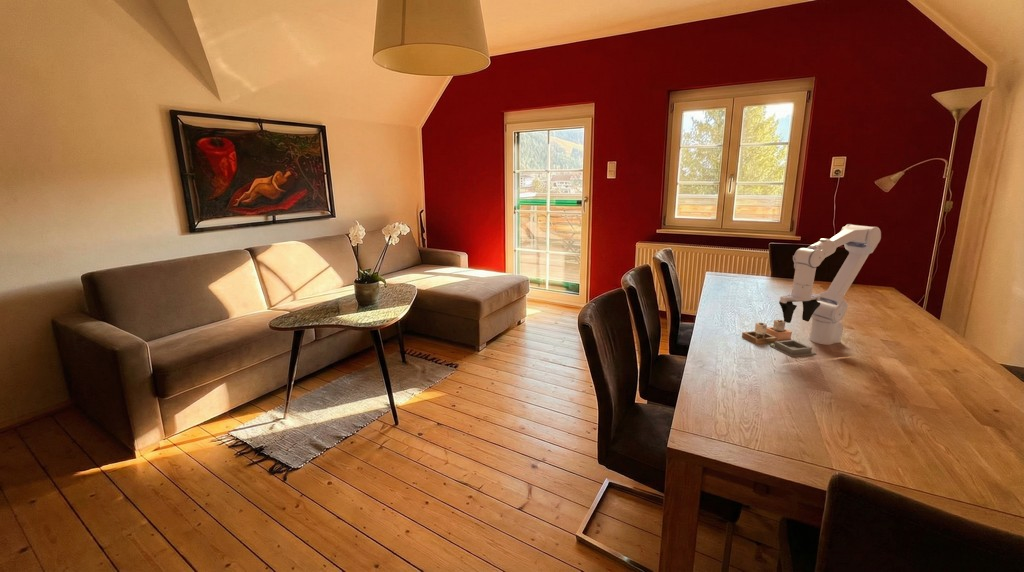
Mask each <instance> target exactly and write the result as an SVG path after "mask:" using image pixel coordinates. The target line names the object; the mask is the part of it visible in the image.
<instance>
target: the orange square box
mask: <svg viewBox="0 0 1024 572" xmlns="http://www.w3.org/2000/svg"><path fill="white" fill-rule="evenodd" d="M766 333H768V334H770V335H772V336H774V337H776V338H777V340H776V341H785V340H792V335H793V334H792V333H793V331H790V330H788V329H786V328H785V329H784V332H776V331H774V330H773V326H769V327H768V326H767V328H766Z"/></svg>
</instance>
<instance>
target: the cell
mask: <svg viewBox="0 0 1024 572" xmlns="http://www.w3.org/2000/svg"><path fill="white" fill-rule="evenodd" d="M767 327H768V324H767V323H764V322H756V323H755V327H754V331H755V333H754V337H756V338H758V339H759V338H765V336H766V328H767Z"/></svg>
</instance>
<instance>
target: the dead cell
mask: <svg viewBox="0 0 1024 572" xmlns="http://www.w3.org/2000/svg"><path fill="white" fill-rule="evenodd" d="M786 323H787V322H785V321H784V319H783V320H782V319H774V321H773V326H772V327H773V330H774V331H776V332H784V329H786V328H785V327H786Z"/></svg>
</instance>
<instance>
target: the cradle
mask: <svg viewBox="0 0 1024 572" xmlns="http://www.w3.org/2000/svg"><path fill="white" fill-rule="evenodd" d="M769 347H770V348H773V350H774V349H775V350H777V351H779V352H780V353H783V354H785V355H787V356H789V357H791V358H796V357H806V356H815V355H817V353H816V352H814V351H812V350H813V347H810V346H809V345H806V344H804V343H802V342H799V341H797V340H794V339H786V340H776V342H775V343H770V345H769Z"/></svg>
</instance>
